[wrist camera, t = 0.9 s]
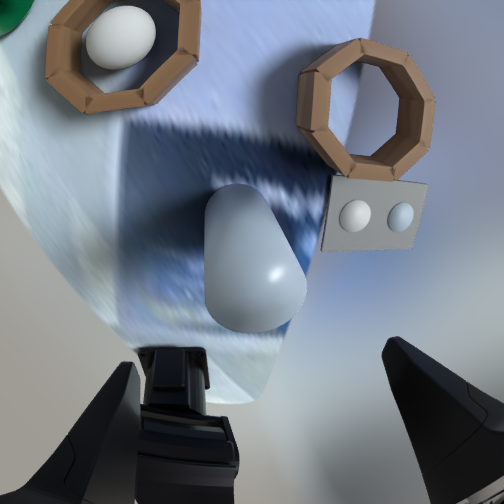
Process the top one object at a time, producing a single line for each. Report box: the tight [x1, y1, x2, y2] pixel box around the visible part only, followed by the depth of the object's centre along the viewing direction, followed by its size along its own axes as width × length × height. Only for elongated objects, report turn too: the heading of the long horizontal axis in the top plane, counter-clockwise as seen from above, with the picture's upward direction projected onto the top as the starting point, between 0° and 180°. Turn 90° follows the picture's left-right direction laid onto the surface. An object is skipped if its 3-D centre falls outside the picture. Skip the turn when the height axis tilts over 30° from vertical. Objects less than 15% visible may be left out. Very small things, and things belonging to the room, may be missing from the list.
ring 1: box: [45, 0, 201, 114], centre depth 12 cm, size 9×9×3 cm
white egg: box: [86, 6, 156, 70], centre depth 12 cm, size 4×4×4 cm
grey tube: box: [204, 184, 307, 333], centre depth 16 cm, size 4×4×9 cm
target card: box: [321, 175, 428, 252], centre depth 22 cm, size 6×9×1 cm, turn 88°
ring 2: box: [296, 38, 436, 182], centre depth 16 cm, size 9×9×3 cm
